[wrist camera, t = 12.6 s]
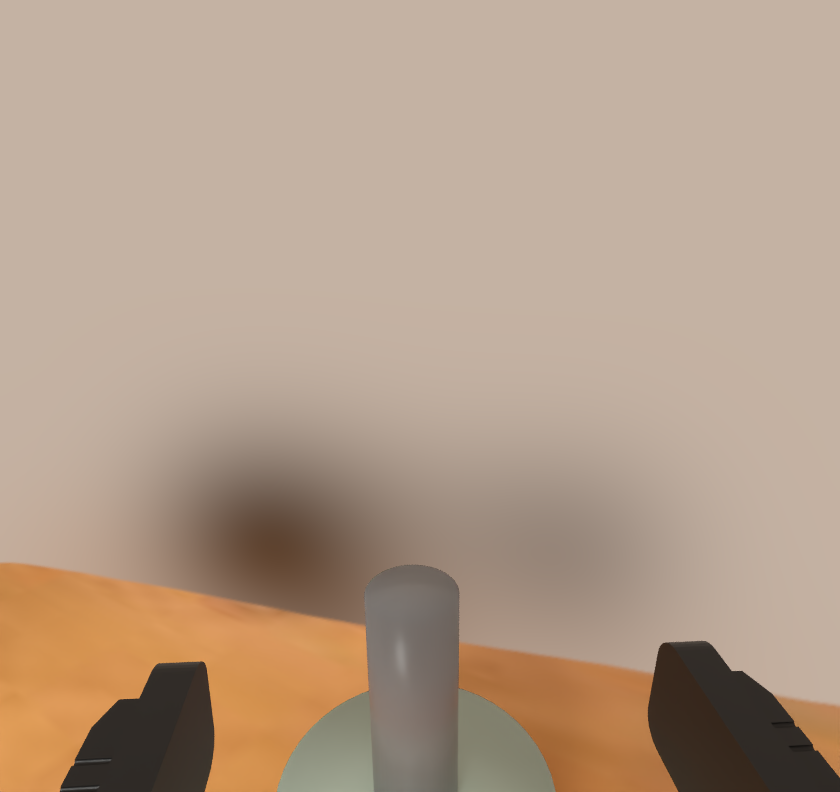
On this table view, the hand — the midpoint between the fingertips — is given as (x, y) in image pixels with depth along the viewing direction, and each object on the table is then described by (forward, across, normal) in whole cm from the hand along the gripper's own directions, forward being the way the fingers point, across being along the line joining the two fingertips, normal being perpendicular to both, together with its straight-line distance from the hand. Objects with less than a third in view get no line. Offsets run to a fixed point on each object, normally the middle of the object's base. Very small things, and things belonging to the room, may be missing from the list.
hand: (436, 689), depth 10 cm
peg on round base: (+10, -1, +17) cm, 20 cm away
